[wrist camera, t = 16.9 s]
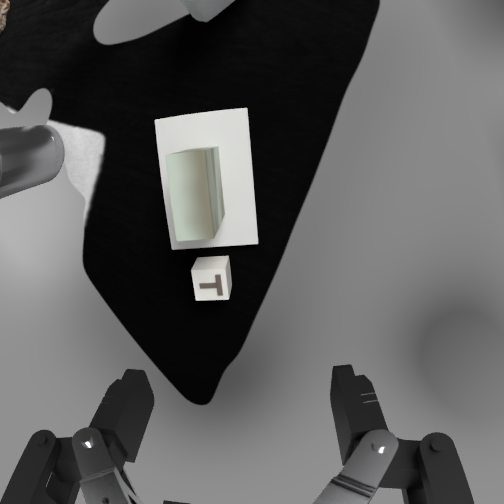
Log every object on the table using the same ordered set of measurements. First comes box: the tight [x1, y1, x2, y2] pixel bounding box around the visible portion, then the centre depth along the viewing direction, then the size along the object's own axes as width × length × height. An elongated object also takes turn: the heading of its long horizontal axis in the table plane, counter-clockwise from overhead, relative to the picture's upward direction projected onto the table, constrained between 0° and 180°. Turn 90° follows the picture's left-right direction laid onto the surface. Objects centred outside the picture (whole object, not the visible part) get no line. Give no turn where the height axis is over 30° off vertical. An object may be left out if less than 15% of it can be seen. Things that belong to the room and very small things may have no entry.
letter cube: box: [191, 256, 232, 301], centre depth 44 cm, size 4×4×5 cm
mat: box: [155, 108, 258, 250], centre depth 41 cm, size 12×18×1 cm, turn 5°
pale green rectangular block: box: [165, 146, 225, 241], centre depth 36 cm, size 4×9×10 cm, turn 4°
